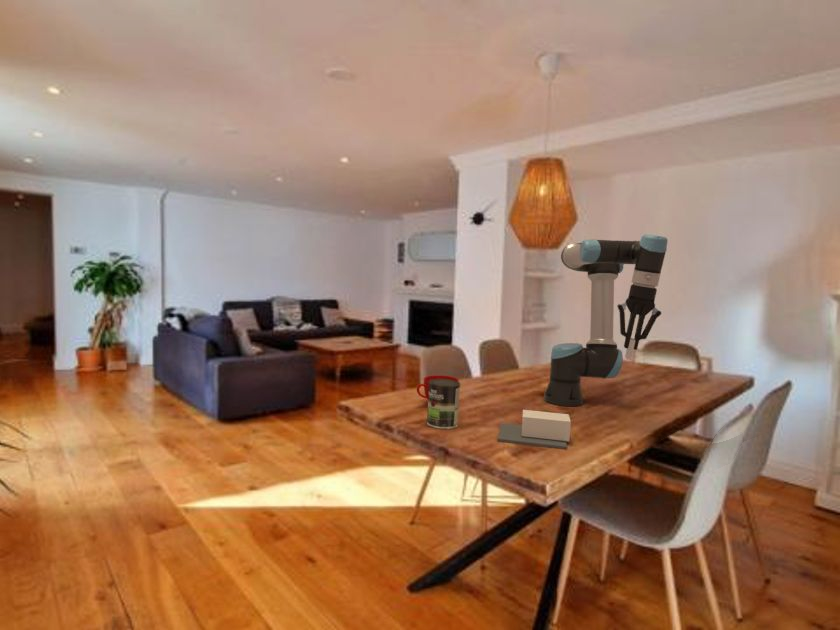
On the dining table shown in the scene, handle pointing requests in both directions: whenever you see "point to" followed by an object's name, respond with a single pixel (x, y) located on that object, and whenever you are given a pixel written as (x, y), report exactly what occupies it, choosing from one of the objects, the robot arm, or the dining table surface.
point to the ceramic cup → (426, 383)
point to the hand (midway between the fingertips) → (627, 358)
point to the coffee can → (443, 403)
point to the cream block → (546, 425)
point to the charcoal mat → (514, 432)
